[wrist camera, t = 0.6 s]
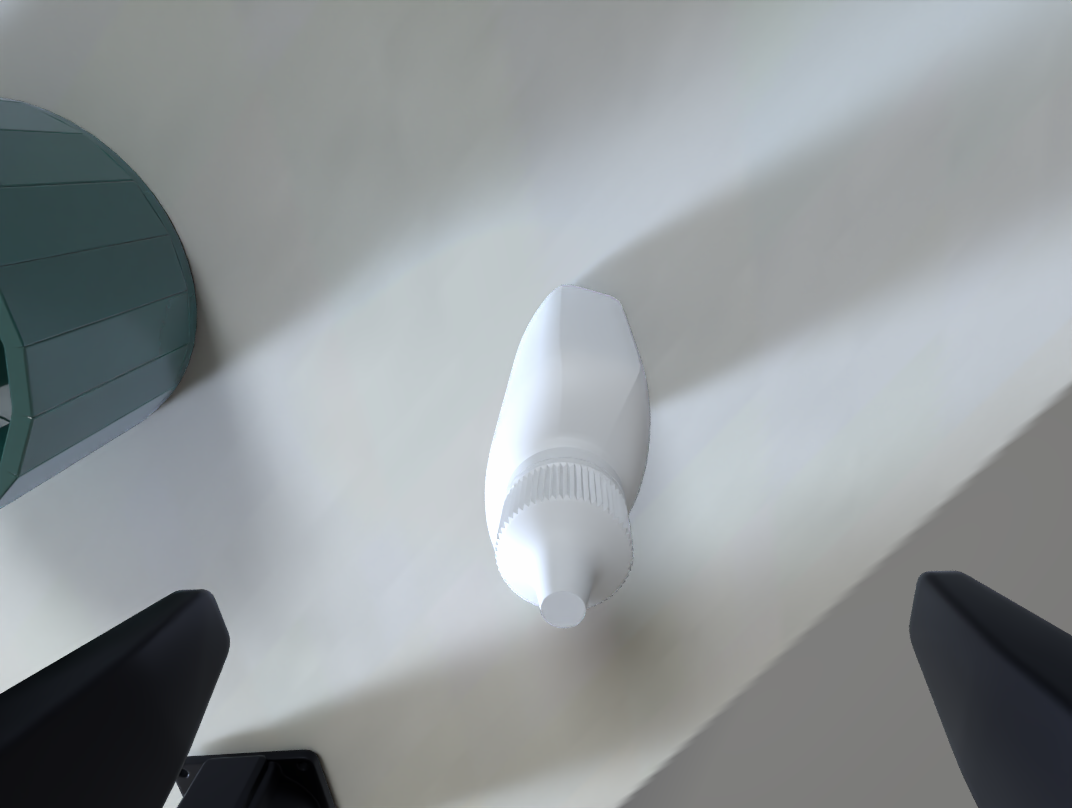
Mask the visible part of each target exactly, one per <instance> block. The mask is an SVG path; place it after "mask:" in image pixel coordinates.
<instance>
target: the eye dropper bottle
mask: <svg viewBox="0 0 1072 808" xmlns="http://www.w3.org/2000/svg"><path fill="white" fill-rule="evenodd" d="M649 440H650V404H649V393H648V385H647V380H646V375H645V371H644V367H643V364H642V360H641V357H640V354H639V351H638V348H637V345H636V342H635V339H634V337H633V334H632V331H631V328H630V325H629V322H628V320H627V317H626V314H625V311H624V309H623V307H622V305H621V303H620V301H619V300H617V299H616V298H614V297H613V296H610V295H607V294H604V293H601V292H597V291H594V290H590V289H586V288H583V287H579V286H574V285H561V286H559V287H558V288H556V289H554V290H553V291H552V292H551V293H550V294H549V295H548V297H547V298H546V299H545V300H544V302H543V303H542V304H541V306H540V307H539V308H538V310H537V311H536V313H535V314H534V316H533V318H532V320H531V321H530V323H529V325H528V327H527V329H526V331H525V333H524V335H523V338H522V340H521V342H520V345H519V348H518V351H517V354H516V357H515V361H514V364H513V368H512V372H511V375H510V379H509V383H508V386H507V390H506V394H505V397H504V401H503V405H502V408H501V412H500V416H499V420H498V423H497V427H496V431H495V434H494V438H493V442H492V446H491V451H490V455H489V460H488V465H487V472H486V482H485V508H486V518H487V524H488V530H489V534H490V538H491V541H492V544H493V547H494V550H495V552H496V556H495V558H496V559H497V562H496V564H497V565H498V566H499V567H498V570H499V571H500V572H501V576H502V577H503V578H504V581H505V582H506V583H507V584H508V586H509V587H510V588H512V591H514V592H515V593H517V595H518V596H520V597H522V599H524V600H526V601H528V602H529V603H532V604H534V605H536V606H539V607H540V611H541V615H542V617H543V618H544V620H545V621H546V622H547V623H549V624H550V625H552V626H554V627H558V628H570V627H573V626H575V625H577V624H579V623H580V622H581V621H582V620H583V618H584V616H585V614H586V610H587V608H590V607H592V606H595V605H597V604H599V603H602V601H605V600H607V598H609V597H611V596H613V595H612V594H614V593H615V592H617V589H619V588H620V587H622V584H623V583H624V582H625V579H626V578H627V577H628V576H629V575H628V573H629V572H630V571H631V566H632V564H633V563H632V560H633V558H634V557H633V552H634V550H633V541H632V535H631V529H630V523H629V517H628V515H629V513H630V511H631V509H632V507H633V505H634V503H635V500H636V498H637V495H638V493H639V490H640V487H641V484H642V480H643V476H644V472H645V468H646V463H647V457H648V450H649Z"/></svg>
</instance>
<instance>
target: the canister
mask: <svg viewBox="0 0 1072 808" xmlns="http://www.w3.org/2000/svg"><path fill="white" fill-rule="evenodd" d="M196 327H197V304H196V296H195V289H194V282H193V278H192V274H191V271H190V267H189V263H188V260H187V257H186V254H185V252H184V249H183V247H182V244H181V241H180V239H179V237H178V235H177V233H176V231H175V229H174V227H173V225H172V223H171V221H170V219H169V217H168V216H167V214H166V212H165V211H164V209H163V208H162V206H161V205H160V203H159V202H158V200H157V199H156V197H155V196H154V194H153V193H152V192H151V191H150V189H149V188H148V187H147V186H146V185H145V183H144V182H143V181H142V180H141V178H140V177H139V176H138V175H137V174H136V172H135V171H133V170H132V169H131V168H130V167H129V166H128V165H127V164H126V163H125V162H124V161H123V160H122V159H121V158H120V157H119V156H118V155H117V154H116V153H115V152H114V151H112V150H111V149H110V148H109V147H107V146H106V145H105V144H104V143H102V142H101V141H100V140H99V139H97V138H96V137H95V136H93V135H92V134H90V133H89V132H87V131H85V130H84V129H82V128H81V127H79V126H77V125H76V124H74V123H73V122H71V121H69V120H67V119H65V118H63V117H61V116H59V115H57V114H55V113H53V112H50V111H48V110H46V109H43V108H40V107H37V106H34V105H31V104H29V103H26V102H23V101H18V100H13V99H8V98H3V97H0V509H1V508H3V507H5V506H6V505H8V504H9V503H11V502H13V501H14V500H16V499H18V498H19V497H21V496H22V495H24V494H26V493H27V492H29V491H31V490H32V489H34V488H35V487H37V486H39V485H40V484H42V483H44V482H45V481H47V480H48V479H50V478H52V477H53V476H55V475H56V474H58V473H60V472H61V471H63V470H65V469H66V468H68V467H69V466H71V465H73V464H74V463H76V462H78V461H79V460H81V459H82V458H84V457H86V456H87V455H89V454H91V453H92V452H94V451H95V450H97V449H99V448H100V447H102V446H104V445H105V444H107V443H108V442H110V441H112V440H113V439H115V438H116V437H118V436H120V435H121V434H123V433H125V432H126V431H128V430H129V429H131V428H133V427H134V426H136V425H138V424H139V423H141V422H142V421H144V420H145V419H146V418H147V417H148V416H149V415H150V414H151V413H153V412H154V411H155V410H157V409H158V408H159V407H160V406H161V405H162V404H163V403H164V402H165V401H166V400H167V399H168V398H169V397H170V396H171V394H172V393H173V391H174V390H175V388H176V387H177V386H178V384H179V383H180V381H181V379H182V377H183V375H184V373H185V371H186V369H187V366H188V364H189V361H190V357H191V354H192V351H193V347H194V341H195V334H196Z"/></svg>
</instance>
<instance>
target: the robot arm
mask: <svg viewBox="0 0 1072 808" xmlns="http://www.w3.org/2000/svg"><path fill="white" fill-rule="evenodd" d="M909 632H910V638H911V643H912V646H913V649H914V651H915V654H916V657H917V659H918V662H919V664H920V667H921V670H922V672H923V675H924V678H925V680H926V683H927V685H928V688H929V691H930V693H931V696H932V698H933V701H934V704H935V706H936V709H937V711H938V714H939V717H940V719H941V722H942V724H943V727H944V729H945V732H946V735H947V737H948V740H949V743H950V745H951V748H952V750H953V753H954V755H955V758H956V760H957V763H958V765H959V768H960V770H961V773H962V775H963V777H964V779H965V781H966V783H967V785H968V787H969V789H970V792H971V793H972V796H973V798H974V800H975V802H976V804H977V806H978V808H1072V636H1071V635H1070V634H1068V633H1066V632H1064V631H1063V630H1061V629H1059V628H1057V627H1056V626H1054V625H1052V624H1051V623H1049V622H1047V621H1046V620H1044V619H1042V618H1040V617H1039V616H1037V615H1035V614H1033V613H1032V612H1030V611H1028V610H1027V609H1025V608H1023V607H1022V606H1020V605H1018V604H1016V603H1015V602H1013V601H1011V600H1009V599H1008V598H1006V597H1004V596H1003V595H1001V594H999V593H997V592H996V591H994V590H992V589H990V588H989V587H987V586H985V585H984V584H982V583H980V582H978V581H977V580H975V579H973V578H972V577H970V576H968V575H966V574H964V573H962V572H958V571H928V572H925V573H923V574H921V575H920V577H919V578H918V581H917V584H916V590H915V596H914V601H913V607H912V612H911V618H910V625H909ZM229 647H230V638H229V633H228V630H227V628H226V625H225V623H224V620H223V618H222V615H221V613H220V610H219V608H218V605H217V603H216V600H215V598H214V596H213V595H212V594H211V593H210V592H209V591H207V590H203V589H200V590H179V591H176V592H174V593H172V594H170V595H168V596H167V597H165V598H163V599H161V600H160V601H158V602H156V603H155V604H153V605H151V606H150V607H148V608H146V609H144V610H143V611H141V612H139V613H138V614H136V615H134V616H132V617H131V618H129V619H127V620H126V621H124V622H122V623H120V624H119V625H117V626H115V627H114V628H112V629H110V630H109V631H107V632H105V633H103V634H102V635H100V636H98V637H97V638H95V639H93V640H91V641H90V642H88V643H86V644H85V645H83V646H81V647H80V648H78V649H76V650H74V651H73V652H71V653H69V654H68V655H66V656H64V657H62V658H61V659H59V660H57V661H56V662H54V663H52V664H51V665H49V666H47V667H45V668H44V669H42V670H40V671H39V672H37V673H35V674H33V675H32V676H30V677H28V678H27V679H25V680H23V681H21V682H20V683H18V684H16V685H15V686H13V687H11V688H10V689H8V690H6V691H4V692H3V693H1V694H0V808H163V806H164V804H165V802H166V800H167V798H168V796H169V794H170V792H171V790H172V788H173V786H174V784H175V782H176V783H177V785H178V787H179V789H180V792H181V794H182V796H183V798H182V800H181V802H180V803H179V805H178V807H177V808H335V805H334V802H333V799H332V796H331V794H330V791H329V788H328V785H327V782H326V779H325V776H324V773H323V770H322V768H321V765H320V762H319V759H318V757H317V755H316V754H315V753H314V752H312V751H310V750H288V751H272V752H255V753H238V754H221V755H205V756H188V757H187V755H188V753H189V751H190V748H191V746H192V743H193V741H194V738H195V736H196V733H197V731H198V728H199V726H200V723H201V721H202V718H203V716H204V713H205V711H206V708H207V706H208V703H209V701H210V698H211V696H212V693H213V690H214V688H215V685H216V683H217V680H218V678H219V675H220V673H221V670H222V668H223V665H224V663H225V660H226V658H227V655H228V652H229Z"/></svg>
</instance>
